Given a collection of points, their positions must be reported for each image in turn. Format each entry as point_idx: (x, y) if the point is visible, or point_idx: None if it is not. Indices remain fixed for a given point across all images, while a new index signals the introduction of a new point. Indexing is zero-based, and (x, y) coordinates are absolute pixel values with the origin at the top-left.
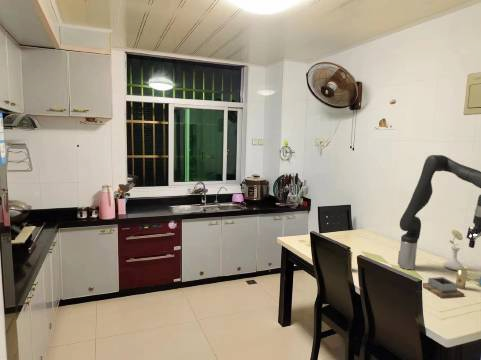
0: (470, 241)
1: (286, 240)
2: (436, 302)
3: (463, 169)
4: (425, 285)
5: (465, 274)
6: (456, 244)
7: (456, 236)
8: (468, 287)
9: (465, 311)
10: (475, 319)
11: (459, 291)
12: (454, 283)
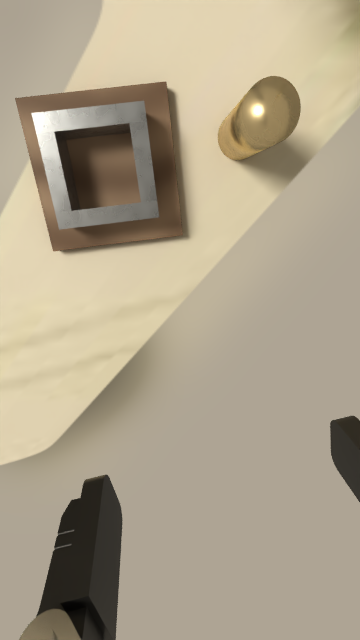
0: (58, 591)
1: None
2: (11, 286)
3: None
4: (28, 130)
5: (266, 146)
6: None
7: None
8: None
9: (92, 352)
10: (90, 399)
11: (175, 212)
12: (151, 202)
